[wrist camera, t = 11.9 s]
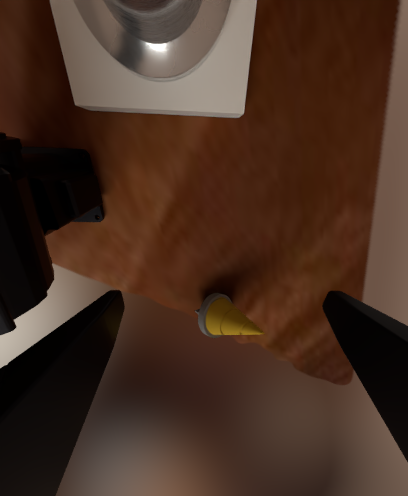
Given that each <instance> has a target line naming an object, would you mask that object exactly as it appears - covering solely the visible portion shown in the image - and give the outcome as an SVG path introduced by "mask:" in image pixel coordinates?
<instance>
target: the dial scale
mask: <svg viewBox="0 0 408 496" xmlns="http://www.w3.org/2000/svg"><path fill="white" fill-rule="evenodd" d="M256 3H257V0H203V1H202V4H201V6H200V9H199V12H198V14H197V16H196V18H195V19H194V21H193V22H192V24H191V26H190V27H189V28H188V29H187V30H186V31H185V32H184V33H183V34H182V35H181V36H180V37H178V38H177V39H175V40H173V41H171V42H168V43H163V44H151V43H147V42H144V41H141V40H139V39H137V38H136V37H134V36H132V35H131V34H130V33H128V32H127V31H126V30H125V29H124V28H123V27H122V26H121V25H120V24H119V23H118V22H117V20H116V19H115V18H114V17H113V15H112V14H111V12H110V11H109V9H108V8H107V6H106V5H105V3H104V1H103V0H50V5H51V9H52V13H53V17H54V21H55V25H56V29H57V33H58V37H59V41H60V45H61V50H62V54H63V58H64V62H65V66H66V70H67V74H68V78H69V82H70V86H71V90H72V95H73V99H74V103H75V105H76V106H79V107H81V108H84V109H87V110H90V111H110V112H130V113H150V114H170V115H190V116H210V117H230V118H239V117H240V116H242V115H243V114H244V108H245V99H246V90H247V82H248V73H249V64H250V56H251V47H252V38H253V29H254V21H255V12H256Z"/></svg>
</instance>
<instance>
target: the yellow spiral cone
mask: <svg viewBox="0 0 408 496" xmlns="http://www.w3.org/2000/svg"><path fill="white" fill-rule="evenodd" d="M195 312H196V313H198V314H199V315H198V323H199V327H200V329H201V331H202V332H203V333H204V334H206V335H208V336H209V337H212V338H217V337H220V336H222V335H241V334H242V335H251V334H264V332H263V331H262V330H261V329H260V328H259V327H257V326H256V325H255V324H254V323H253V322H252V321H251V320H250V319H248V318H247V317H246V316H245V315H244V314H243V313H242V312H241V311H240V310H238V309H237V308H236V307H235V306H234V305H233V304H232V302H231V300H230V298H229V297H228V296H226V295H224V294H220V293H213V294H211V295H209V296H208V297H207V298H206V299H205V300H204V301H203V303H202V305H201V307H200V309H198V310H195Z"/></svg>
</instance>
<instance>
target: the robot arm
mask: <svg viewBox="0 0 408 496" xmlns="http://www.w3.org/2000/svg"><path fill="white" fill-rule="evenodd" d="M81 153H83V154H84V159H83V158H82V157H81ZM101 204H102V198H101V193H100V189H99V185H98V180H97V177H96V175H95V174H94V171H93V167H92V163H91V159H90V155H89V153H88V152H87V151H86V150H84V149H69V148H43V147H22V146H21V142H20V139H19V138H14V137H9V136H6V134H5V133H2V132H0V335H3V334H5V333H8V332H11V331H13V330H14V329H15V328H16V325H15V322H14V319H16V318H17V317H19V316H21V315H22V314H24V313H26V312H27V311H29V310H30V309H32V308H34V307H35V306H36V305H38V304H39V303H40V302H41V301H42V300H43V299H45V298H46V297H47V290H48V289H49V288H50V286H51V284H52V282H53V280H54V270H53V267H52V260H51V257H50V255H49V251H48V247H47V244H46V240H45V236H46V235H48V234H50V233H52V232H53V231H55V230H58V229H60V228H61V227H63V226H65V225H66V224H68V223H70V222H101V221H102V220H103V219H104V213H103V209H102V205H101ZM97 215H98V216H99V217H100V218H98V217H97ZM322 307H323V311H324V313H325V315H326V317H327V319H328V321H329V324H330V326H331V328H332V330H333V332H334V334H335V336H336V338H337V340H338V342H339V344H340V346H341V348H342V350H343V352H344V353H345V355H346V357H347V358H348V360H349V362H350V364H351V365H352V367H353V369H354V371H355V372H356V374H357V376H358V377H359V379H360V381H361V382H362V384H363V386H364V388H365V389H366V391H367V393H368V395H369V396H370V398H371V400H372V401H373V403H374V405H375V407H376V408H377V410H378V412H379V414H380V415H381V417H382V419H383V420H384V422H385V424H386V426H387V427H388V429H389V431H390V433H391V434H392V436H393V438H394V439H395V441H396V443H397V444H398V446H399V448H400V450H401V451H402V453H403V455H404V457H405V458H406V460H407V462H408V326H406V325H405V324H403V323H401V322H399V321H397V320H395V319H393V318H391V317H389V316H388V315H386V314H384V313H382V312H380V311H378V310H376V309H374V308H372V307H370V306H368V305H366V304H364V303H363V302H361V301H359V300H357V299H355V298H353V297H351V296H349V295H347V294H345V293H343V292H341V291H330V292H328V294H327V296H326V298H325V300H324V302H323V305H322ZM123 312H124V301H123V297H122V293H121V291H119V290H110V291H108V292H107V293H105V294H104V295H103V296H101V297H100V298H98V299H97V300H96V301H94V302H93V303H92V304H90V305H89V306H87V307H86V308H84V309H83V310H82V311H80V312H79V313H77V314H76V315H75V316H74V317H72V318H70V319H69V320H68V321H67V322H65V323H63V324H62V325H61V326H59V327H58V328H56V329H55V330H54V331H52V332H51V333H49V334H48V335H47V336H45V337H44V338H42V339H41V340H40V341H38V342H37V343H36V344H34V345H33V346H31V347H30V348H28V349H27V350H26V351H24V352H23V353H22V354H20V355H19V356H17V357H16V358H15V359H13V360H12V361H10V362H9V363H8V365H5V366H3V367H2V368H0V496H55V495H56V493H57V491H58V488H59V485H60V483H61V480H62V478H63V475H64V472H65V470H66V468H67V465H68V462H69V460H70V457H71V455H72V452H73V449H74V447H75V445H76V442H77V439H78V437H79V434H80V432H81V429H82V426H83V424H84V422H85V419H86V416H87V414H88V411H89V409H90V406H91V404H92V401H93V398H94V396H95V394H96V391H97V388H98V386H99V383H100V381H101V378H102V376H103V373H104V371H105V368H106V366H107V363H108V361H109V358H110V356H111V353H112V350H113V347H114V344H115V341H116V337H117V334H118V330H119V327H120V323H121V319H122V316H123Z"/></svg>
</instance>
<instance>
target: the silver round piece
mask: <svg viewBox="0 0 408 496" xmlns="http://www.w3.org/2000/svg"><path fill="white" fill-rule="evenodd" d="M103 1H104V3H105V5H106V6H107V8H108V9H109V11H110V12H111V14H112V15H113V17H114V18H115V19H116V20H117V22H118V23H119V24H120V25H121V26H122V27H123V28H124V29H125V30H126V31H127V32H128V33H130V34H131V35H132V36H134V37H136V38H137V39H139V40H141V41H144V42H147V43H151V44H163V43H168V42H171V41H173V40H175V39H177V38H178V37H180V36H181V35H182V34H183V33H184V32H185V31H186V30H187V29H188V28H189V27H190V26H191V24H192V22H193V21H194V19H195V18H196V16H197V14H198V12H199V9H200V6H201V4H202V1H203V0H103Z"/></svg>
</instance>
